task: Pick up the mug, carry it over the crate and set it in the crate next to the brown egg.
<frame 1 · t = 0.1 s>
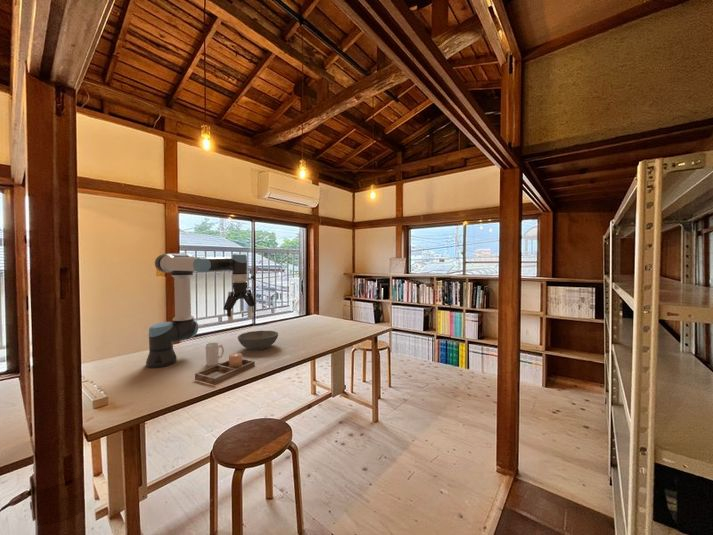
hand: (240, 319, 163), 28 cm above the table, fingers open, 13 cm apart
bowl: (258, 348, 201), on the table
brown egg: (235, 367, 165), point 1 cm above the table, touching crate
crate: (226, 372, 159), on the table
mug: (215, 364, 172), on the table
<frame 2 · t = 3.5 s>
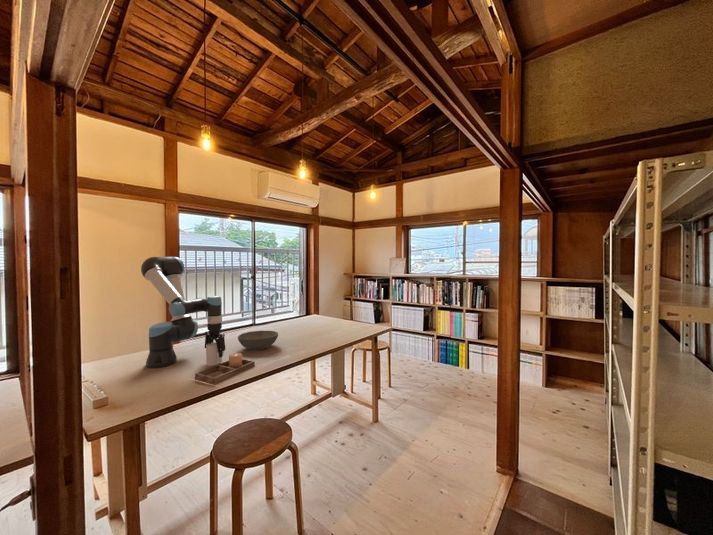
hand: (215, 361, 172), 2 cm above the table, fingers open, 7 cm apart
mug: (215, 364, 172), on the table, touching gripper
everything else where it was.
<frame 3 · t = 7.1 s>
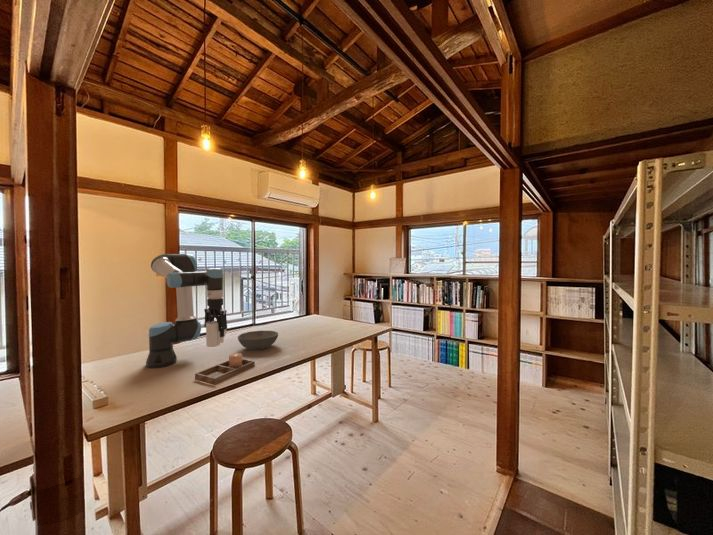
hand: (215, 341, 153), 19 cm above the table, fingers closed on mug, 7 cm apart
mug: (216, 344, 153), point 17 cm above the table, touching gripper
everything else where it was.
when the fingers open (4 cm above the table, at t = 10.4 s): mug drops 2 cm, resting on crate.
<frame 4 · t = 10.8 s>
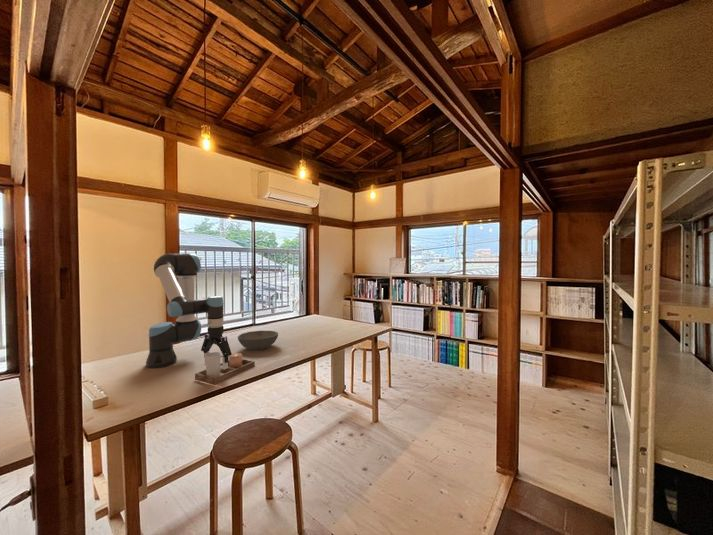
hand: (216, 366, 153), 6 cm above the table, fingers open, 12 cm apart
mug: (216, 376, 153), resting on crate
everything else where it was.
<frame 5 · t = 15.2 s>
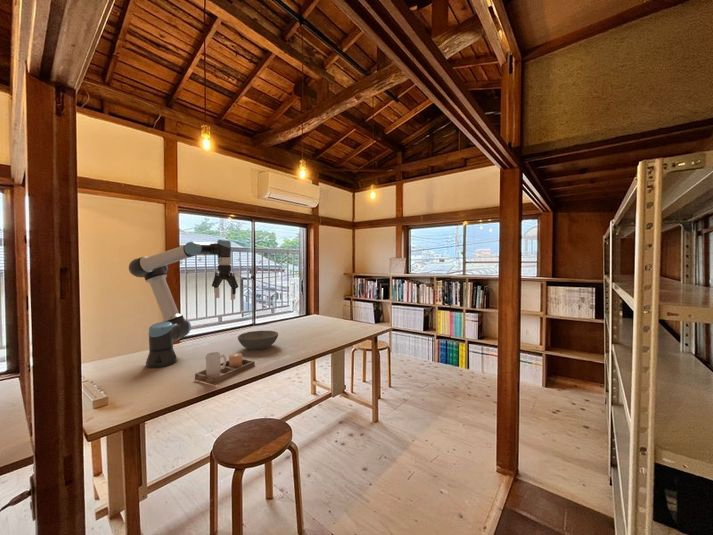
hand: (225, 298, 182), 37 cm above the table, fingers open, 13 cm apart
nothing on the table moved.
at the end: mug inside the target area on the crate (0.2 cm from its centre), point 0.4 cm above the crate's base; mug tilted 0°; brown egg moved 0.1 cm from its start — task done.
